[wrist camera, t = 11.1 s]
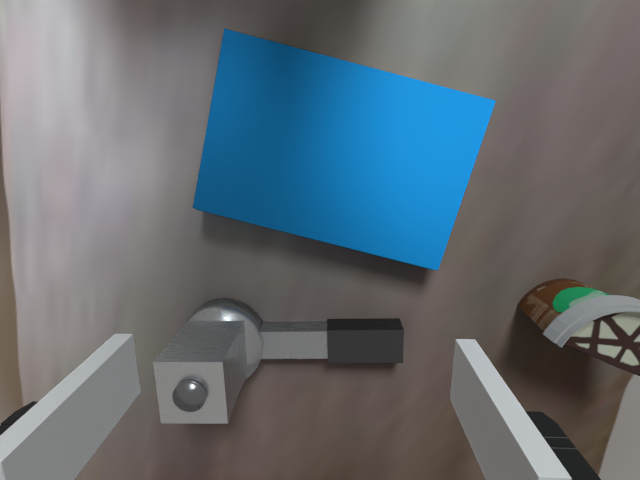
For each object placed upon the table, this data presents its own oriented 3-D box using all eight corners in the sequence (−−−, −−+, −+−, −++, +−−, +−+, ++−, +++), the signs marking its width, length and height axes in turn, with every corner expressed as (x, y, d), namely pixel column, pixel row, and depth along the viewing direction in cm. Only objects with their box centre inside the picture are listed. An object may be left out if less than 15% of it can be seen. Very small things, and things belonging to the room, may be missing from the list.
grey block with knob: (187, 320, 42) (149, 366, 33) (244, 320, 41) (220, 365, 33) (193, 372, 43) (158, 428, 34) (247, 371, 43) (226, 428, 34)
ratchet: (184, 299, 44) (156, 326, 37) (399, 296, 43) (412, 324, 36) (192, 371, 46) (167, 409, 39) (398, 370, 45) (409, 409, 38)
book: (221, 27, 35) (498, 96, 35) (234, 40, 39) (481, 102, 39) (190, 215, 38) (439, 276, 39) (205, 208, 43) (429, 264, 43)
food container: (636, 293, 42) (726, 337, 33) (604, 342, 44) (682, 397, 34) (533, 250, 42) (594, 281, 32) (505, 300, 43) (555, 345, 33)
